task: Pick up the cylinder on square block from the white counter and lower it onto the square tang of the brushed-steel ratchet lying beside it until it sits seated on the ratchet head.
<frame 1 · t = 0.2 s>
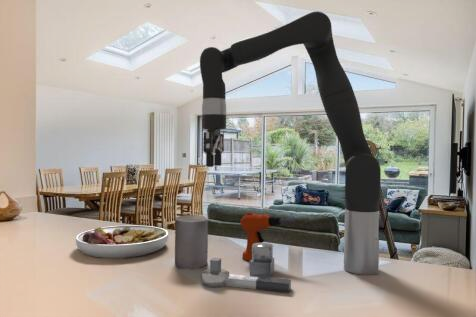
hand: (214, 166, 122), 29 cm above the countertop, tool pointing down, fingers open, 8 cm apart
toy drill: (267, 262, 119), on the countertop
ratchet: (215, 282, 100), on the countertop
bowl: (123, 249, 133), on the countertop
cylinder on square block: (262, 274, 107), on the countertop
pillar candle: (191, 264, 116), on the countertop
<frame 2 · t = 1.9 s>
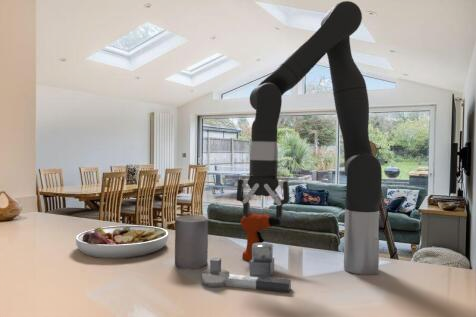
hand: (262, 217, 106), 15 cm above the countertop, tool pointing down, fingers open, 8 cm apart
nothing on the countertop moved.
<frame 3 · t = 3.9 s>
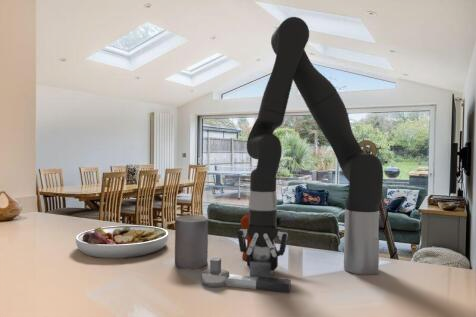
hand: (262, 268, 107), 2 cm above the countertop, tool pointing down, fingers closed on cylinder on square block, 5 cm apart
cylinder on square block: (262, 274, 107), on the countertop, touching gripper
everything else where it was.
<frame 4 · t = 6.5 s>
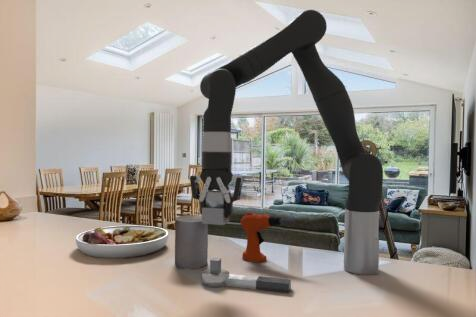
hand: (216, 216, 99), 17 cm above the countertop, tool pointing down, fingers closed on cylinder on square block, 5 cm apart
cylinder on square block: (216, 222, 100), point 15 cm above the countertop, touching gripper
everything else where it was.
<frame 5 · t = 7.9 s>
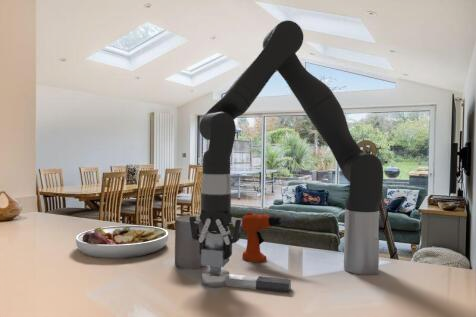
hand: (215, 257, 100), 7 cm above the countertop, tool pointing down, fingers closed on cylinder on square block, 5 cm apart
cylinder on square block: (215, 263, 100), point 5 cm above the countertop, touching gripper
everything else where it was.
when the fingers open (5 cm above the countertop, at t = 9.0 s): cylinder on square block stays where it is, resting on ratchet.
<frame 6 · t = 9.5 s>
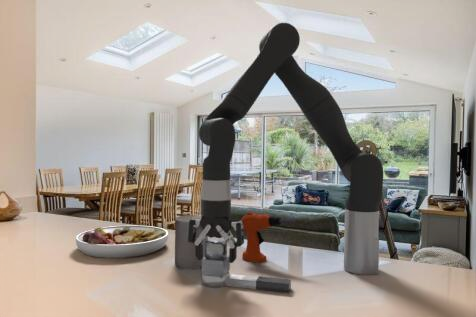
hand: (215, 260, 100), 6 cm above the countertop, tool pointing down, fingers open, 8 cm apart
cylinder on square block: (216, 272, 100), point 2 cm above the countertop, touching ratchet
everything else where it was.
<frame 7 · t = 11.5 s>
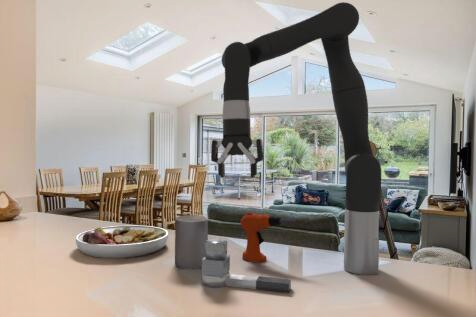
hand: (237, 177, 107), 26 cm above the countertop, tool pointing down, fingers open, 8 cm apart
nothing on the countertop moved.
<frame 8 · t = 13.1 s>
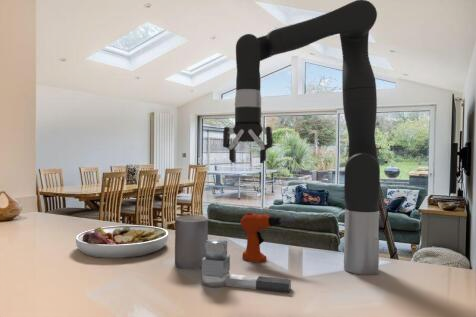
hand: (247, 162, 113), 30 cm above the countertop, tool pointing down, fingers open, 8 cm apart
nothing on the countertop moved.
at the end: cylinder on square block 0.1 cm off-centre on the ratchet, point 2.5 cm above the ratchet's base; cylinder on square block tilted 0°; the gripper is holding nothing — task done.
